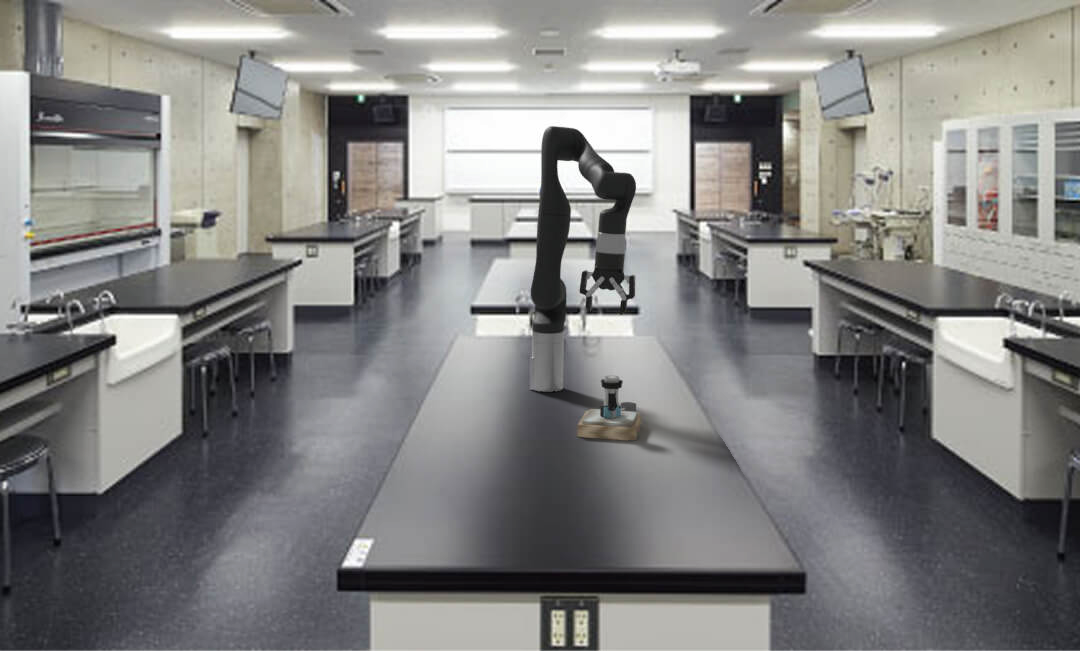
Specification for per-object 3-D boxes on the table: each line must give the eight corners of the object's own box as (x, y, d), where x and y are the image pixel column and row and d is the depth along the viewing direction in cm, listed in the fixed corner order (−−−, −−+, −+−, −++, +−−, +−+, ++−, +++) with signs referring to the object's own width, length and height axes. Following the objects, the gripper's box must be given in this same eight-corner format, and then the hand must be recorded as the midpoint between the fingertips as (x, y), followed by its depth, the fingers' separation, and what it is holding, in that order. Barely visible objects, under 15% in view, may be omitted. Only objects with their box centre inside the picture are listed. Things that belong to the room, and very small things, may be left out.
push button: (618, 412, 241) (619, 373, 240) (630, 417, 237) (631, 377, 235) (595, 415, 238) (596, 375, 237) (607, 420, 234) (608, 380, 232)
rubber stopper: (619, 420, 249) (619, 405, 248) (621, 416, 252) (621, 401, 252) (634, 421, 248) (635, 406, 247) (636, 417, 252) (637, 402, 251)
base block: (577, 436, 233) (577, 421, 232) (586, 421, 246) (586, 407, 246) (634, 440, 230) (635, 425, 229) (641, 425, 244) (641, 411, 243)
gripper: (580, 249, 245) (575, 312, 248) (635, 254, 242) (630, 317, 245) (586, 247, 252) (582, 307, 255) (640, 251, 249) (635, 313, 252)
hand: (605, 312), depth 250 cm, fingers open, 8 cm apart
